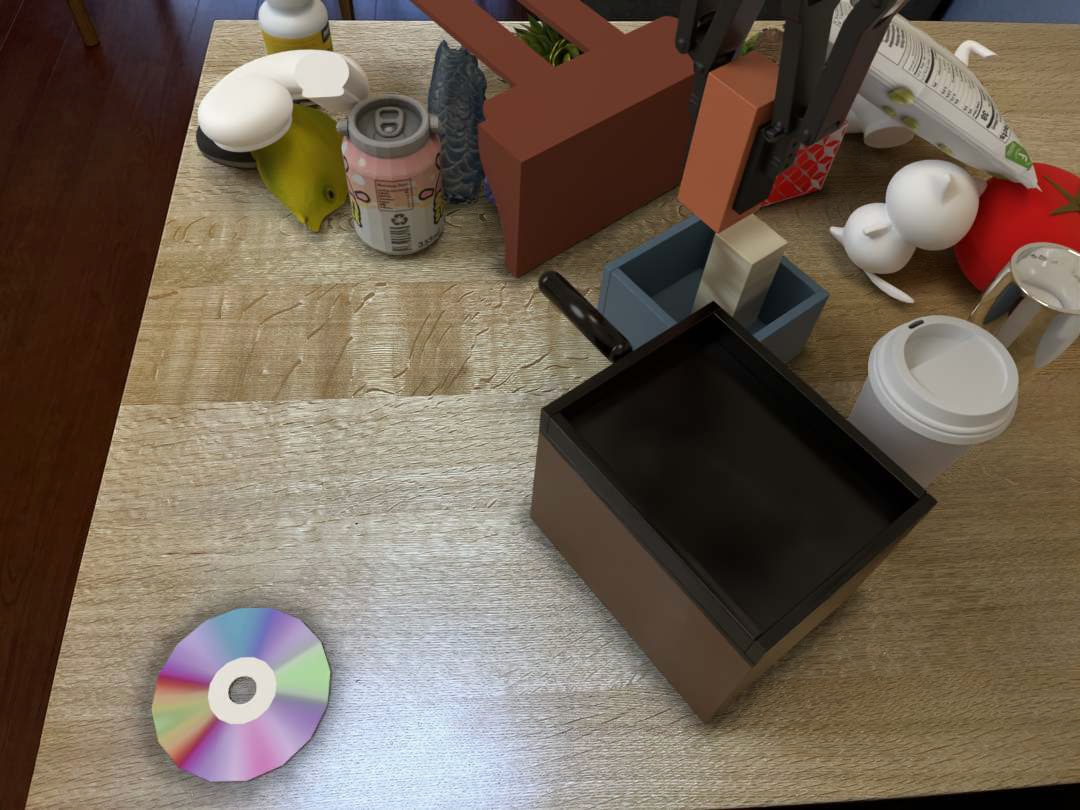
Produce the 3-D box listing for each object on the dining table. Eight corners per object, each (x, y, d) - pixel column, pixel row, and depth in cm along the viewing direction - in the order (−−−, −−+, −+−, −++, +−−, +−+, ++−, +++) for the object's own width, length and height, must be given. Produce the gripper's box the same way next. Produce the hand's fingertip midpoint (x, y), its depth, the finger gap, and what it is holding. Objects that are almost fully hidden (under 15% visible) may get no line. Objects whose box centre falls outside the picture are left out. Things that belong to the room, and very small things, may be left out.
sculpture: (228, 82, 81) (193, -1, 75) (387, 70, 79) (365, -16, 73) (194, 166, 74) (152, 82, 67) (369, 154, 72) (342, 67, 66)
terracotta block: (759, 209, 60) (804, 84, 51) (717, 234, 58) (757, 108, 50) (718, 176, 61) (755, 49, 53) (676, 199, 60) (708, 72, 51)
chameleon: (924, -11, 91) (780, 6, 100) (818, 30, 70) (648, 46, 79) (922, 59, 93) (781, 69, 103) (819, 117, 73) (655, 123, 82)
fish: (284, 228, 76) (385, 217, 82) (226, 68, 77) (328, 70, 84) (275, 243, 78) (373, 231, 84) (218, 87, 80) (319, 87, 86)
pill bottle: (332, 111, 88) (313, 4, 78) (268, 106, 88) (241, -3, 78) (344, 72, 92) (328, -36, 82) (283, 66, 92) (259, -43, 82)
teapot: (1002, 94, 78) (996, -1, 80) (776, 137, 88) (775, 52, 89) (1003, 139, 87) (998, 52, 88) (797, 173, 96) (795, 95, 98)
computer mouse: (252, 75, 86) (257, 112, 89) (176, 134, 78) (184, 172, 81) (316, 96, 85) (319, 132, 88) (246, 158, 77) (251, 196, 80)
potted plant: (629, 174, 80) (475, 111, 78) (609, 169, 93) (475, 115, 90) (682, 43, 77) (524, -27, 75) (654, 55, 90) (517, -5, 87)
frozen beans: (761, 47, 67) (1014, 223, 70) (811, -24, 64) (1075, 165, 67) (765, -7, 83) (970, 137, 87) (805, -66, 80) (1018, 87, 83)
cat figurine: (855, 221, 84) (970, 143, 76) (905, 318, 82) (1030, 249, 73) (806, 217, 79) (925, 133, 70) (858, 322, 76) (988, 247, 68)
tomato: (915, 206, 82) (993, 123, 73) (1025, 221, 86) (1112, 144, 77) (962, 334, 75) (1054, 260, 67) (1079, 345, 79) (1182, 277, 70)
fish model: (490, 69, 94) (490, 26, 89) (500, 210, 82) (501, 168, 78) (427, 70, 93) (424, 27, 89) (429, 212, 82) (425, 170, 77)
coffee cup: (904, 421, 71) (994, 300, 59) (950, 527, 66) (1059, 419, 54) (792, 431, 70) (859, 310, 58) (829, 540, 65) (912, 433, 52)
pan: (850, 595, 63) (939, 501, 50) (704, 724, 57) (765, 653, 45) (601, 347, 74) (625, 220, 62) (459, 434, 68) (454, 314, 56)
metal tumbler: (1016, 394, 73) (1125, 273, 61) (983, 449, 70) (1091, 332, 58) (939, 351, 76) (1030, 224, 63) (904, 401, 72) (992, 279, 60)
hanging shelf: (708, 167, 86) (519, 17, 98) (740, 49, 75) (523, -103, 87) (516, 278, 77) (333, 98, 89) (521, 162, 66) (312, -25, 78)
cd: (254, 819, 52) (255, 819, 52) (365, 658, 58) (365, 659, 58) (112, 722, 55) (113, 723, 55) (231, 578, 61) (231, 578, 61)
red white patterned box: (821, 189, 86) (849, 123, 79) (752, 209, 84) (775, 143, 77) (777, 138, 90) (800, 71, 83) (711, 156, 88) (729, 88, 81)
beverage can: (354, 188, 82) (336, 78, 72) (444, 186, 83) (439, 76, 73) (352, 262, 77) (333, 154, 67) (448, 258, 78) (443, 151, 68)
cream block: (754, 324, 75) (788, 242, 67) (722, 346, 74) (752, 264, 65) (722, 295, 77) (751, 211, 69) (689, 316, 75) (715, 232, 67)
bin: (801, 352, 75) (831, 294, 68) (695, 426, 70) (716, 371, 63) (699, 262, 80) (717, 200, 73) (593, 326, 75) (603, 265, 69)
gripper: (655, -276, 41) (598, 133, 60) (953, -117, 34) (780, 287, 53) (766, -306, 43) (678, 94, 63) (1062, -165, 37) (860, 235, 56)
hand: (724, 182), depth 58 cm, fingers closed on terracotta block, 4 cm apart
